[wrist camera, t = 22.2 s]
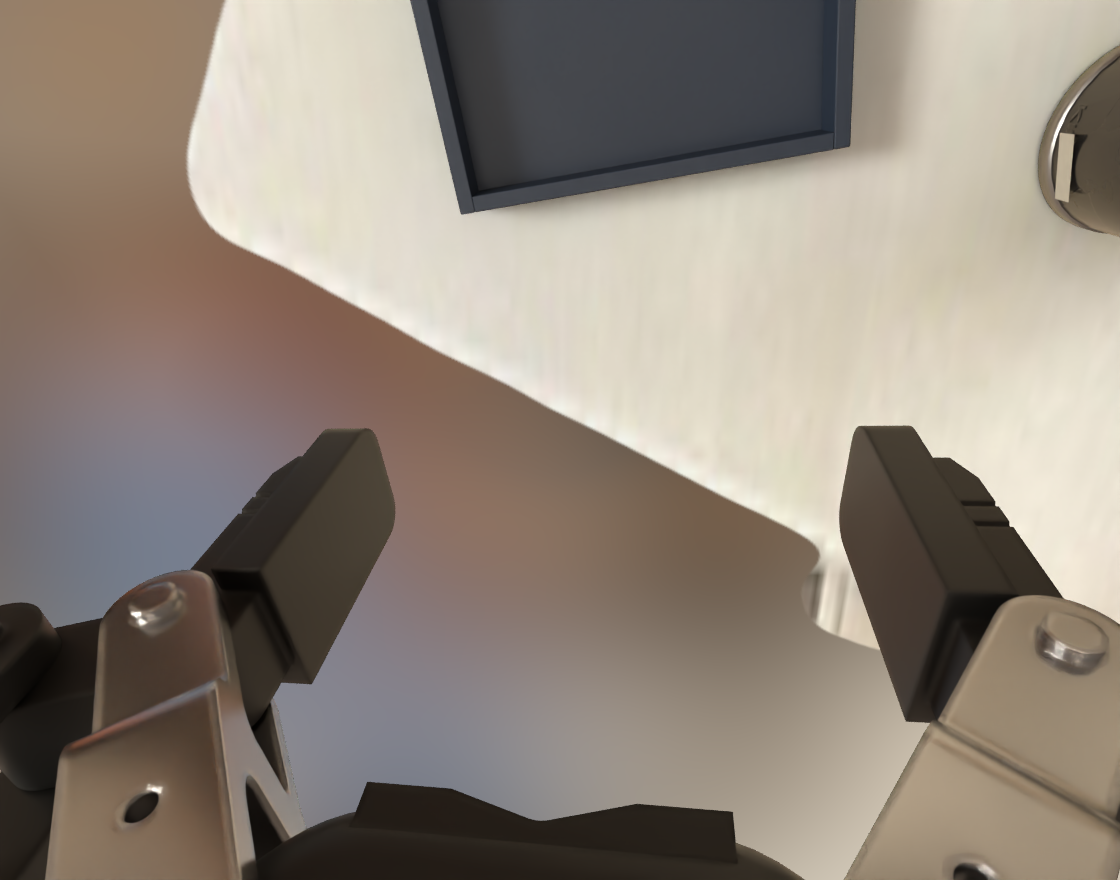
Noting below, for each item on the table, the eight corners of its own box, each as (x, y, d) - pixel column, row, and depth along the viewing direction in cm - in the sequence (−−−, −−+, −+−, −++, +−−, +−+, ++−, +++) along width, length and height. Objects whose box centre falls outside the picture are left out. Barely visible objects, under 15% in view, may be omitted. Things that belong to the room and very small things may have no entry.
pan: (842, -170, 28) (864, -193, 26) (833, 142, 34) (850, 146, 32) (407, -66, 31) (391, -78, 29) (469, 206, 37) (460, 214, 34)
